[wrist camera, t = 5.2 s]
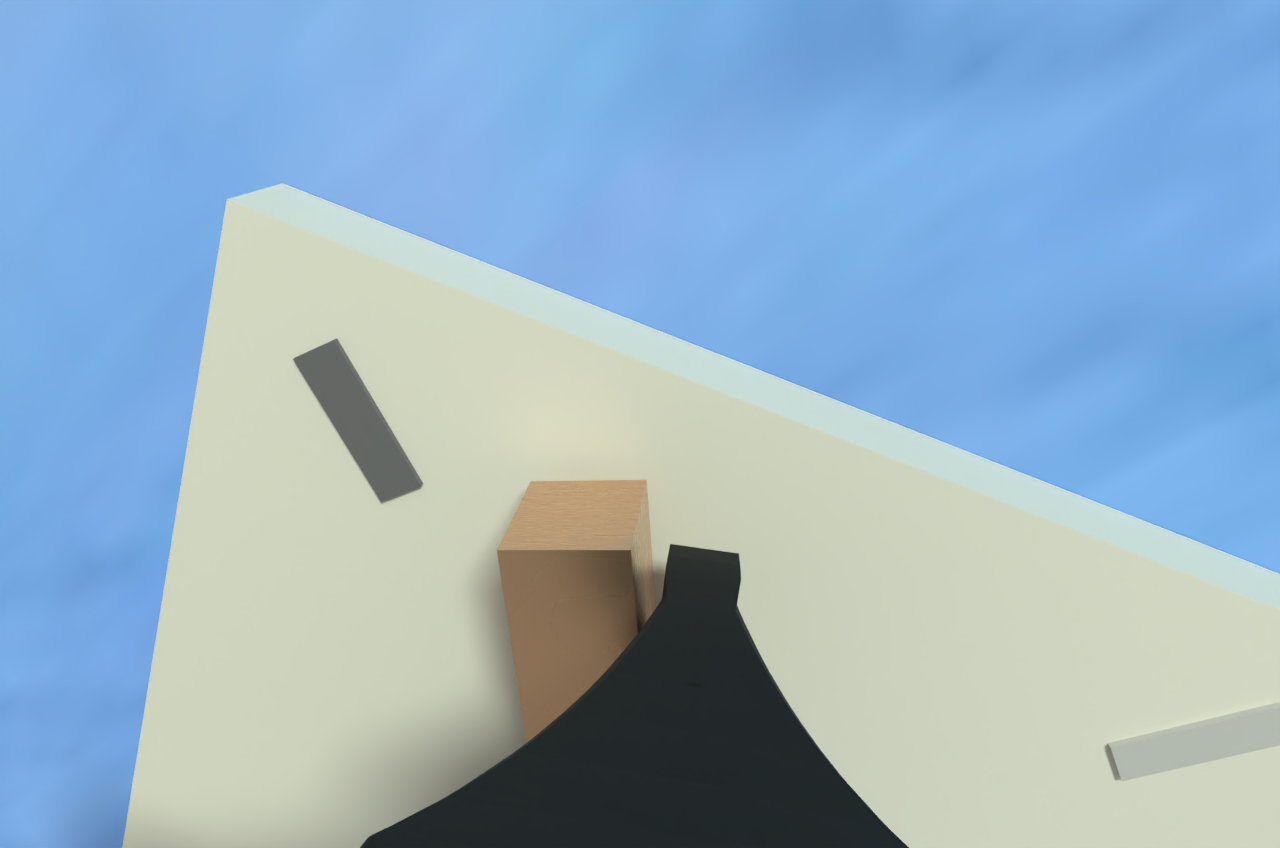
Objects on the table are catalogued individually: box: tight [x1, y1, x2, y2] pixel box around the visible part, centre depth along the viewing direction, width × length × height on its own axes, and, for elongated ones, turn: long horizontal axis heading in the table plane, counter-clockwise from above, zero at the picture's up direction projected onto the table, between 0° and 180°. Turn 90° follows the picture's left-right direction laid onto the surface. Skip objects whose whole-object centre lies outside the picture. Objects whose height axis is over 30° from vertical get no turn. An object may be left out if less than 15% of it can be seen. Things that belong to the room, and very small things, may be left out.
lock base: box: [122, 183, 1280, 848], centre depth 16 cm, size 18×18×2 cm
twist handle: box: [497, 480, 656, 743], centre depth 13 cm, size 11×6×2 cm, turn 4°
